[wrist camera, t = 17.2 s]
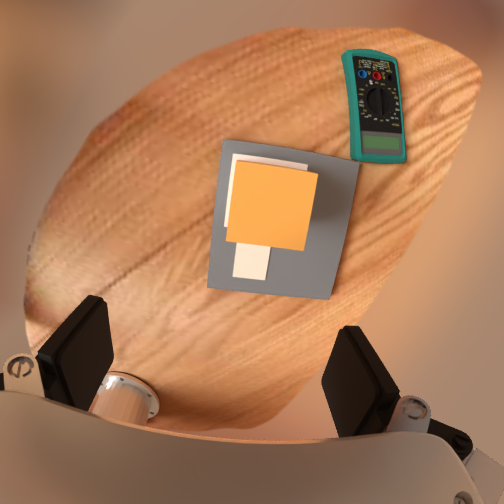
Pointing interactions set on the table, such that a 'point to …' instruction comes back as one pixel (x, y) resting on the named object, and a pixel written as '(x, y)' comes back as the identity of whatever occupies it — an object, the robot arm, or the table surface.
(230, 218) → the orange foam cube
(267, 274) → the board
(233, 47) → the table surface
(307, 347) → the table surface
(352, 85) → the digital multimeter
